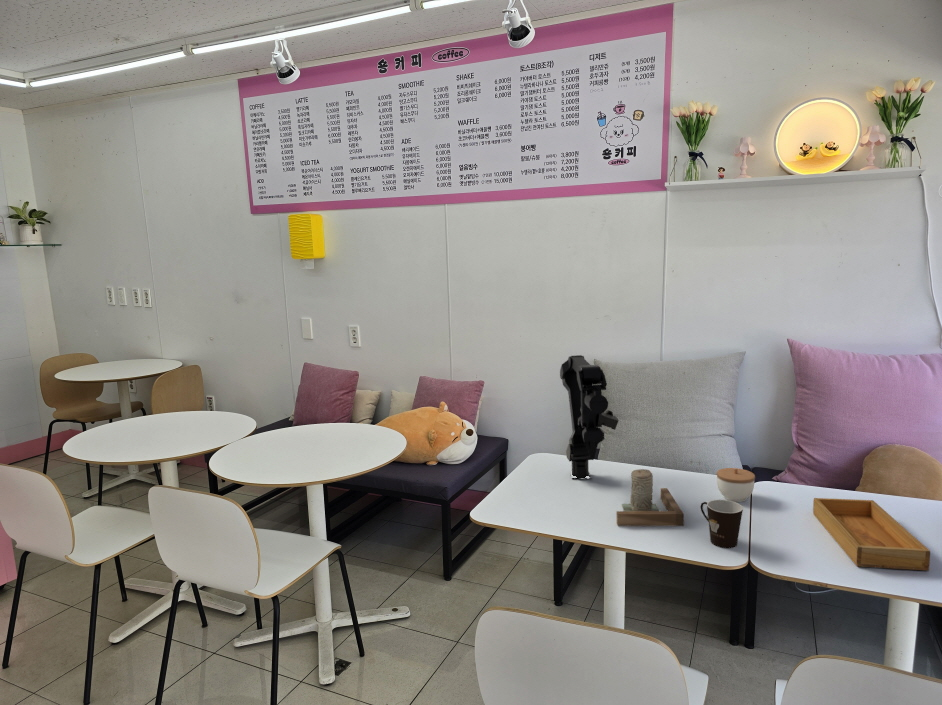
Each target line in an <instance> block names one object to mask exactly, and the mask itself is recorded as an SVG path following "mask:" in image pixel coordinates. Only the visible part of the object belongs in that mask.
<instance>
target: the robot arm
mask: <svg viewBox="0 0 942 705" xmlns="http://www.w3.org/2000/svg"><path fill="white" fill-rule="evenodd" d="M559 378H560V379H561V381H562V386H563V387H564V388H565V390H566V391H567V394H568V401H569V410H570V411H569V412H570V420H571V429H572V432H571V435H570V437H569V439H568V444H567V448H566V450H565V455H566V459H567V461H568V462H569V463H570V462H571V471H572V475H573V476H576V477H577V478H585V477H586V476H589V477H591V475H589V474H590V472H589V461H594V459H595V457H596V454H597V449H598V445H599V444H600V443H601V442H603V441H604V440H605V432H604V430H603V429H602V428H603V426H604V427H607V428H609V429H611V430H617V426H618V423H619V418H618V417H616V416H615V415H614V413H613V410H609V409H608V408H609V402H608V399H607V398H606V397H605V396H604V395H603V393H602V391H606V390H607V384H608V383H607V380H606V379H607V378H606V375H605V373H604V370H603V369H602V368H601V367H600V366H599V365H596V364H595V365H593V364H590V363H589V362H588V361H587V360H586V358H585V356H584V355H582V354H581V355H580V354H579V355H570V356H568V358H567V360H566V361H564V362H563V363H562V364H561V366H560V369H559Z"/></svg>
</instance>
